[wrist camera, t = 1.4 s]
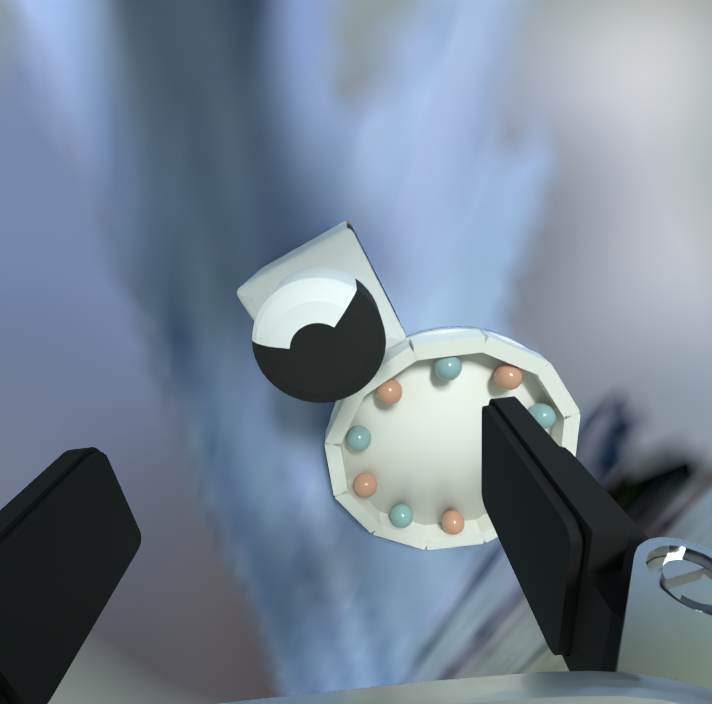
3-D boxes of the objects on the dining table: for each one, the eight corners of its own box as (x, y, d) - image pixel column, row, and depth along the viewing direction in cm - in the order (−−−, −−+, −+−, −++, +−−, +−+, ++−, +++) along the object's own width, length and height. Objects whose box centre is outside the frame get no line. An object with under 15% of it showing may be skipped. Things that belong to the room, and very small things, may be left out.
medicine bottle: (393, 308, 28) (426, 379, 17) (310, 351, 29) (291, 444, 18) (348, 218, 26) (352, 234, 15) (259, 268, 27) (200, 318, 16)
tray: (309, 343, 29) (306, 359, 26) (571, 311, 29) (596, 323, 26) (344, 536, 37) (344, 564, 34) (552, 512, 36) (569, 538, 34)
